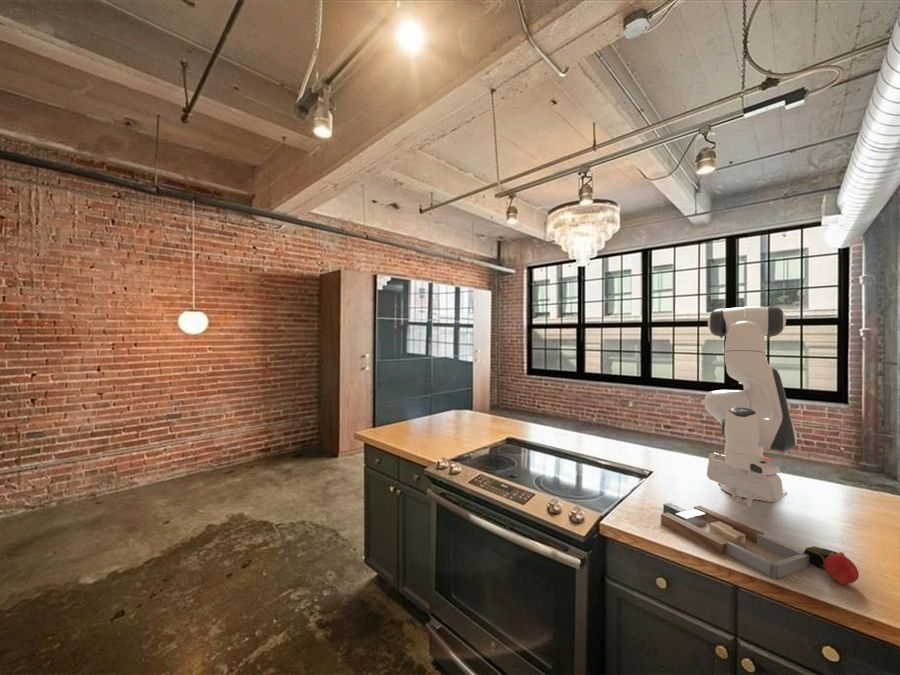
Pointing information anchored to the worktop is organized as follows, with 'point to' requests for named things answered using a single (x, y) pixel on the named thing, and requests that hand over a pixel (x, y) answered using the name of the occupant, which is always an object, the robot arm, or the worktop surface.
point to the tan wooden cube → (718, 528)
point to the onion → (841, 568)
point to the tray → (773, 569)
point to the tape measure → (818, 555)
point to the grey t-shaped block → (685, 514)
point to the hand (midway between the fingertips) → (741, 503)
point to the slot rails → (706, 537)
